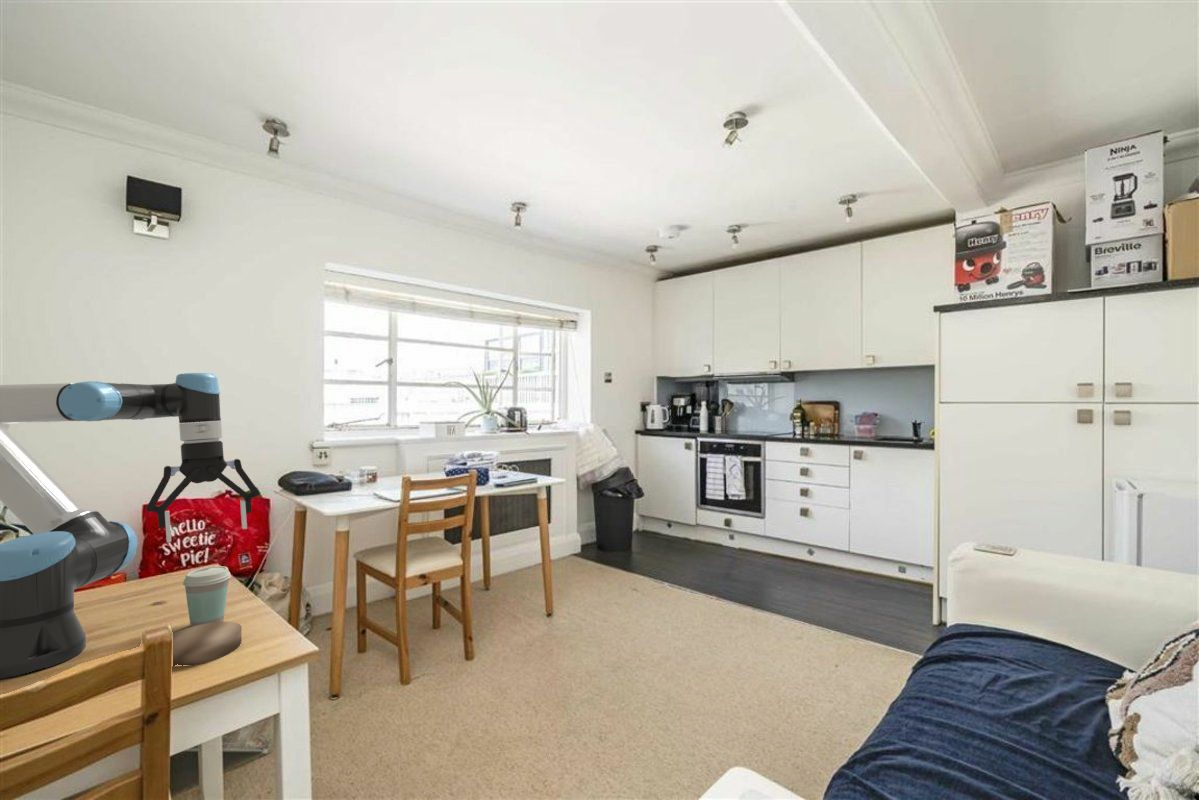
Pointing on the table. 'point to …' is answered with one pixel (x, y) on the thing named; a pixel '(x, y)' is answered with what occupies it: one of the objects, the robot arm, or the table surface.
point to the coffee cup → (207, 594)
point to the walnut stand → (205, 642)
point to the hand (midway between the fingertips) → (208, 534)
